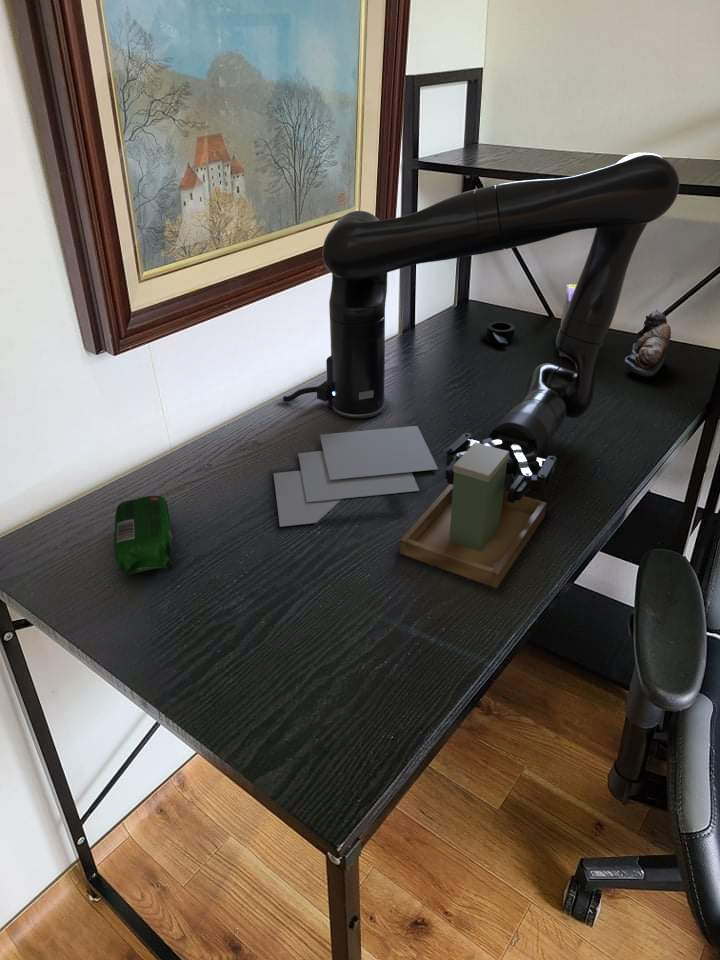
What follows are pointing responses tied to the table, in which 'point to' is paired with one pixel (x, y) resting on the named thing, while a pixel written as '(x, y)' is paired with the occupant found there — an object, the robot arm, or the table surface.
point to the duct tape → (500, 333)
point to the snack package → (143, 535)
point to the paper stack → (351, 471)
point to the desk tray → (486, 566)
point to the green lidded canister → (477, 495)
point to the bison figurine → (650, 346)
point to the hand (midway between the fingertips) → (479, 487)
